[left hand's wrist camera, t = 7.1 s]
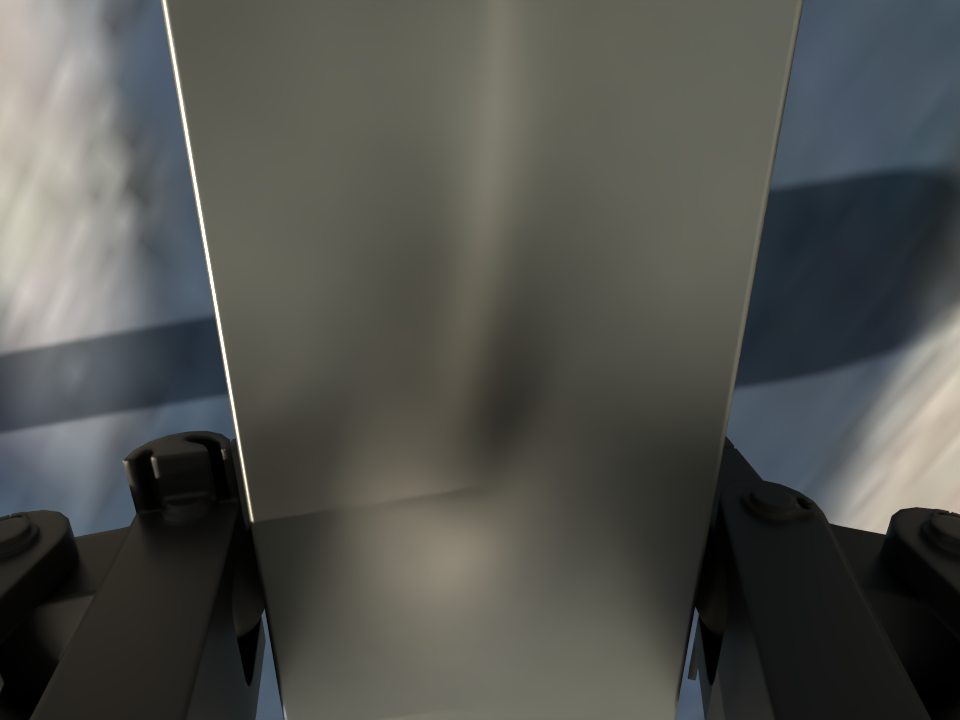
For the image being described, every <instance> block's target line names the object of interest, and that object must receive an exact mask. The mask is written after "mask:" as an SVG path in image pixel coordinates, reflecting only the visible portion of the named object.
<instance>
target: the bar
mask: <svg viewBox="0 0 960 720" xmlns="http://www.w3.org/2000/svg"><path fill="white" fill-rule="evenodd" d="M803 1H804V0H161V3H162V9H163V15H164V20H165V26H166V32H167V38H168V44H169V50H170V56H171V62H172V67H173V73H174V79H175V85H176V91H177V97H178V103H179V108H180V114H181V120H182V126H183V132H184V138H185V144H186V149H187V155H188V161H189V167H190V173H191V179H192V185H193V190H194V196H195V202H196V208H197V214H198V220H199V226H200V232H201V237H202V243H203V249H204V255H205V261H206V267H207V273H208V278H209V284H210V290H211V296H212V302H213V308H214V314H215V319H216V325H217V331H218V337H219V343H220V349H221V355H222V361H223V366H224V372H225V378H226V384H227V390H228V396H229V402H230V407H231V413H232V419H233V425H234V431H235V437H236V443H237V448H238V454H239V460H240V466H241V472H242V478H243V484H244V489H245V495H246V501H247V507H248V513H249V519H250V525H251V531H252V536H253V542H254V548H255V554H256V560H257V566H258V572H259V577H260V583H261V589H262V595H263V601H264V607H265V613H266V618H267V624H268V630H269V636H270V642H271V648H272V654H273V660H274V665H275V671H276V677H277V683H278V689H279V695H280V701H281V706H282V712H283V718H284V720H675V716H676V711H677V705H678V699H679V694H680V688H681V683H682V677H683V671H684V666H685V660H686V655H687V649H688V643H689V638H690V632H691V627H692V621H693V616H694V610H695V604H696V599H697V593H698V588H699V582H700V576H701V571H702V565H703V560H704V554H705V548H706V543H707V537H708V532H709V526H710V521H711V515H712V509H713V504H714V498H715V493H716V487H717V481H718V476H719V470H720V465H721V459H722V453H723V448H724V442H725V437H726V431H727V425H728V420H729V414H730V409H731V403H732V398H733V392H734V386H735V381H736V375H737V370H738V364H739V358H740V353H741V347H742V342H743V336H744V330H745V325H746V319H747V314H748V308H749V303H750V297H751V291H752V286H753V280H754V275H755V269H756V263H757V258H758V252H759V247H760V241H761V235H762V230H763V224H764V219H765V213H766V208H767V202H768V196H769V191H770V185H771V180H772V174H773V168H774V163H775V157H776V152H777V146H778V140H779V135H780V129H781V124H782V118H783V113H784V107H785V101H786V96H787V90H788V85H789V79H790V73H791V68H792V62H793V57H794V51H795V45H796V40H797V34H798V29H799V23H800V18H801V12H802V6H803Z"/></svg>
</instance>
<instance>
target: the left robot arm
mask: <svg viewBox="0 0 960 720" xmlns="http://www.w3.org/2000/svg"><path fill="white" fill-rule="evenodd" d="M123 463H124V467H125V471H126V474H127V478H128V482H129V486H130V490H131V494H132V498H133V501H134V505H135V509H136V513H137V514H136V516H135V518H134V519H133V521H132V523H131V525H130V526H128V527H124V528H120V529H116V530H110V531H105V532H100V533H95V534H89V535H84V536H79V537H74V535H73V532H72V528H71V525H70V522H69V519H68V518H67V517H66V516H64V515H63V514H62V513H60V512H55V511H47V510H40V511H30V512H19V513H14V514H12V515H11V516H9V515H7V516H3V517H0V720H255V718H256V711H257V703H258V695H259V687H260V680H261V672H262V664H263V656H264V649H265V634H264V627H263V622H262V616H261V615H262V613H263V611H264V609H265V607H264V601H263V595H262V589H261V583H260V577H259V572H258V566H257V560H256V554H255V548H254V542H253V536H252V531H251V525H250V519H249V513H248V507H247V501H246V495H245V489H244V484H243V478H242V472H241V466H240V460H239V454H238V448H237V443H236V438H235V439H233V440H232V441H231V442H230V440H229V439H228V438H226V437H225V436H223V435H222V434H219V433H214V432H209V431H191V432H184V433H178V434H173V435H168V436H165V437H162V438H159V439H156V440H153V441H150V442H148V443H146V444H145V445H143V446H141V447H139V448H137V449H135V450H134V451H132V452H131V453H130V454H129V455H128V456H127V457H126V458H125V459H124V460H123ZM695 607H696V609H697V611H698V613H699V616H698V622H697V627H696V633H695V639H694V644H693V650H692V655H691V661H690V666H689V673H688V679H692V680H696V675H697V670H698V671H699V678H700V686H701V694H702V701H703V709H704V717H705V720H960V514H957V513H953V512H951V513H949V511H945V510H940V509H928V508H918V507H915V508H908V509H900V510H899V511H898V512H896V513H895V514H894V515H892V517H891V520H890V524H889V527H888V530H887V533H886V535H884V534H879V533H874V532H869V531H863V530H858V529H853V528H848V527H842V526H838V525H834V524H830V523H829V522H828V520H827V518H826V517H825V515H824V513H823V512H822V510H821V509H820V508H819V507H818V506H817V504H816V503H815V502H814V501H812V500H811V499H809V498H808V497H806V496H805V495H803V494H802V493H800V492H798V491H796V490H793V489H791V488H788V487H786V486H783V485H781V484H777V483H772V482H768V481H763V480H762V479H761V477H760V476H759V475H758V474H757V473H756V471H755V470H754V469H753V468H752V467H751V465H750V464H749V463H748V462H747V461H746V459H745V458H744V457H743V456H742V455H741V453H740V452H739V451H738V450H737V449H734V445H733V444H732V443H731V441H730V440H729V439H728V438H727V437H725V442H724V448H723V453H722V459H721V465H720V470H719V476H718V481H717V487H716V493H715V498H714V504H713V509H712V515H711V521H710V526H709V532H708V537H707V543H706V548H705V554H704V560H703V565H702V571H701V576H700V582H699V588H698V593H697V599H696V604H695Z"/></svg>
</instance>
